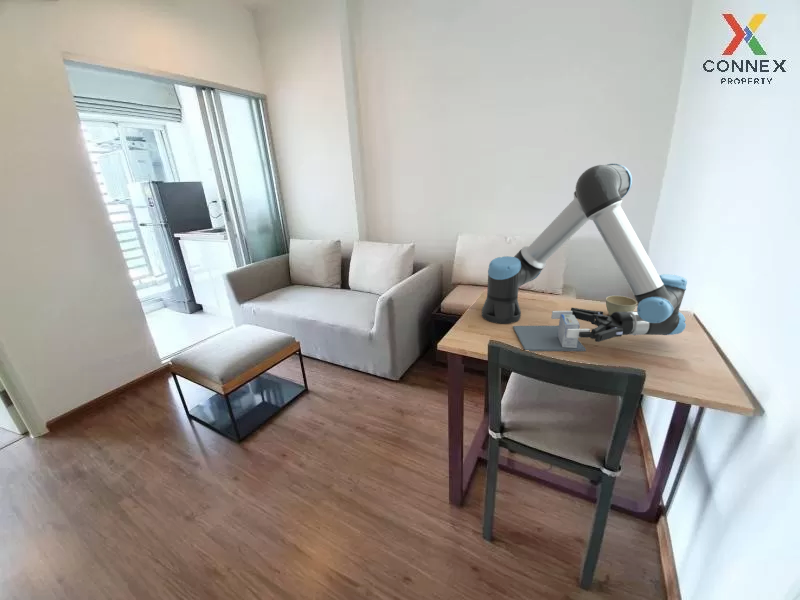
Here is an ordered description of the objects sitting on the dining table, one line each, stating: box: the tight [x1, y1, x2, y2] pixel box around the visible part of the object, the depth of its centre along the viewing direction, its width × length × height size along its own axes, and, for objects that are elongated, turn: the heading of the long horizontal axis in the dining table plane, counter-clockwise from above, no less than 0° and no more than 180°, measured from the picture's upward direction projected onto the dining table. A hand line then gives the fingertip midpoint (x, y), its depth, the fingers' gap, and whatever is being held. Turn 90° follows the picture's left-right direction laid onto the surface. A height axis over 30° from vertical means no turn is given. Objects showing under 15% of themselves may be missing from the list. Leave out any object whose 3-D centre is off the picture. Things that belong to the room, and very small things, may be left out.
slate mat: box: [512, 325, 587, 352], centre depth 115 cm, size 19×17×1 cm
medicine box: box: [558, 314, 581, 348], centre depth 109 cm, size 8×4×9 cm, turn 166°
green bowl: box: [605, 295, 638, 316], centre depth 126 cm, size 10×10×7 cm
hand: (559, 323), depth 108 cm, fingers open, 13 cm apart
